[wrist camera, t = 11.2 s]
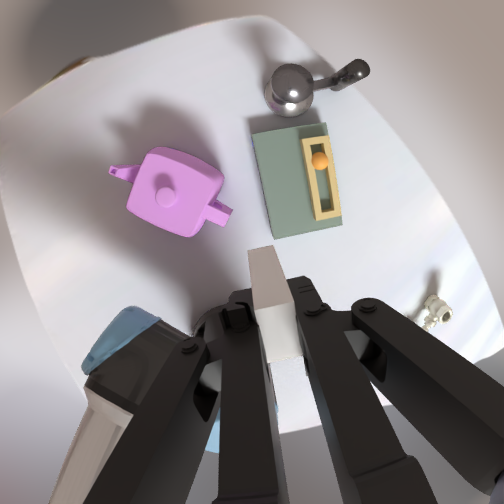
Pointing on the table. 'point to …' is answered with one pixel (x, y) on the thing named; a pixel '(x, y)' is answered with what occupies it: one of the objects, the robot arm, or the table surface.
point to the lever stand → (298, 179)
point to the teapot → (174, 191)
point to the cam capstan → (306, 86)
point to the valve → (436, 312)
